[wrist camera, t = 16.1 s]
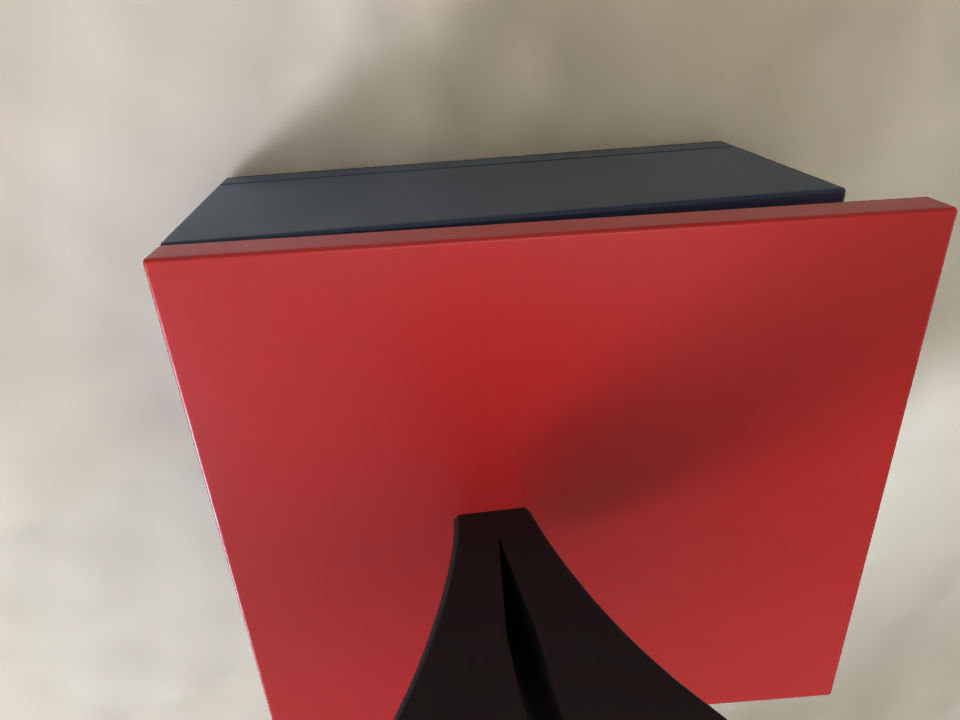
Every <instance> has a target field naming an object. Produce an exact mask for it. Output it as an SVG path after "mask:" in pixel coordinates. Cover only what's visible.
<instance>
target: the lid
mask: <svg viewBox="0 0 960 720" xmlns="http://www.w3.org/2000/svg"><path fill="white" fill-rule="evenodd" d="M956 213H957V209H956V207H953V206H950V205H948V204H945V203H943V202H940V201H937V200H935V199H932V198H929V197H916V198H901V199H885V200H869V201H853V202H838V203H822V204H806V205H791V206H775V207H759V208H744V209H728V210H712V211H696V212H681V213H665V214H649V215H634V216H618V217H602V218H587V219H571V220H555V221H539V222H524V223H508V224H492V225H477V226H461V227H445V228H430V229H414V230H398V231H382V232H367V233H351V234H335V235H320V236H304V237H288V238H273V239H257V240H241V241H225V242H210V243H194V244H178V245H163V246H160V247H158V248H157V249H156V250H155V251H153V252H152V253H151V254H150V255H149V256H147V257H146V258H145V259H144V261H143V264H144V268H145V272H146V275H147V279H148V282H149V286H150V289H151V293H152V296H153V300H154V303H155V307H156V310H157V314H158V318H159V321H160V325H161V328H162V332H163V335H164V339H165V342H166V346H167V349H168V353H169V356H170V360H171V364H172V367H173V371H174V374H175V378H176V381H177V385H178V388H179V392H180V395H181V399H182V402H183V406H184V410H185V413H186V417H187V420H188V424H189V427H190V431H191V434H192V438H193V441H194V445H195V448H196V452H197V456H198V459H199V463H200V466H201V470H202V473H203V477H204V480H205V484H206V487H207V491H208V494H209V498H210V502H211V505H212V509H213V512H214V516H215V519H216V523H217V526H218V530H219V533H220V537H221V540H222V544H223V548H224V551H225V555H226V558H227V562H228V565H229V569H230V572H231V576H232V579H233V583H234V586H235V590H236V594H237V597H238V601H239V604H240V608H241V611H242V615H243V618H244V622H245V625H246V629H247V632H248V636H249V639H250V643H251V647H252V650H253V654H254V657H255V661H256V664H257V668H258V671H259V675H260V678H261V682H262V685H263V689H264V693H265V696H266V700H267V703H268V707H269V710H270V714H271V717H272V720H393V719H394V717H395V715H396V713H397V711H398V709H399V706H400V704H401V702H402V700H403V698H404V696H405V694H406V692H407V690H408V688H409V685H410V683H411V681H412V678H413V676H414V674H415V671H416V669H417V667H418V664H419V662H420V659H421V657H422V654H423V652H424V649H425V646H426V644H427V641H428V638H429V635H430V632H431V629H432V626H433V623H434V620H435V617H436V614H437V611H438V608H439V604H440V601H441V597H442V593H443V589H444V585H445V581H446V577H447V573H448V569H449V564H450V558H451V553H452V546H453V534H454V526H453V520H454V519H455V518H456V517H457V516H458V515H461V514H470V513H479V512H487V511H496V510H504V509H513V508H522V507H525V508H526V509H528V510H529V511H530V512H531V514H532V516H533V517H534V519H535V521H536V522H537V524H538V526H539V527H540V529H541V531H542V532H543V534H544V535H545V537H546V538H547V540H548V541H549V543H550V544H551V545H552V547H553V548H554V550H555V551H556V552H557V554H558V555H559V557H560V558H561V559H562V561H563V562H564V563H565V565H566V566H567V567H568V568H569V570H570V571H571V572H572V573H573V575H574V576H575V577H576V578H577V580H578V581H579V582H580V583H581V585H582V586H583V587H584V588H585V590H586V591H587V592H588V593H589V594H590V595H591V597H592V598H593V599H594V600H595V601H596V602H597V604H598V605H599V606H600V607H601V608H602V609H603V610H604V611H605V612H606V613H607V614H608V616H609V617H610V618H611V619H612V620H613V621H614V622H615V623H616V624H617V625H618V626H619V627H620V628H621V629H622V630H623V631H624V632H625V633H626V634H627V635H628V636H629V637H630V638H631V639H632V640H633V641H634V642H635V643H636V644H637V645H638V646H639V647H640V648H641V649H642V650H643V651H644V652H645V653H646V654H647V655H648V656H650V657H651V658H652V659H653V660H654V661H655V662H656V663H657V664H658V665H660V666H661V667H662V668H663V669H664V670H665V671H666V672H668V673H669V674H670V675H671V676H672V677H673V678H674V679H676V680H677V681H678V682H679V683H680V684H682V685H683V686H684V687H686V688H687V689H688V690H689V691H691V692H692V693H693V694H695V695H696V696H697V697H699V698H700V699H701V700H702V701H704V702H705V703H706V704H718V703H731V702H743V701H756V700H769V699H781V698H794V697H807V696H819V695H829V694H830V693H831V690H832V686H833V682H834V678H835V675H836V671H837V667H838V663H839V659H840V655H841V652H842V648H843V644H844V640H845V636H846V633H847V629H848V625H849V621H850V617H851V614H852V610H853V606H854V602H855V598H856V595H857V591H858V587H859V583H860V579H861V575H862V572H863V568H864V564H865V560H866V556H867V553H868V549H869V545H870V541H871V537H872V534H873V530H874V526H875V522H876V518H877V514H878V511H879V507H880V503H881V499H882V495H883V492H884V488H885V484H886V480H887V476H888V473H889V469H890V465H891V461H892V457H893V454H894V450H895V446H896V442H897V438H898V434H899V431H900V427H901V423H902V419H903V415H904V412H905V408H906V404H907V400H908V396H909V393H910V389H911V385H912V381H913V377H914V374H915V370H916V366H917V362H918V358H919V354H920V351H921V347H922V343H923V339H924V335H925V332H926V328H927V324H928V320H929V316H930V313H931V309H932V305H933V301H934V297H935V293H936V290H937V286H938V282H939V278H940V274H941V271H942V267H943V263H944V259H945V255H946V252H947V248H948V244H949V240H950V236H951V233H952V229H953V225H954V221H955V217H956Z"/></svg>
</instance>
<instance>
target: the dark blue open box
mask: <svg viewBox="0 0 960 720" xmlns="http://www.w3.org/2000/svg"><path fill="white" fill-rule="evenodd" d="M844 197H845V188H843V187H840V186H837V185H835V184H832V183H829V182H827V181H824V180H822V179H819V178H816V177H814V176H811V175H808V174H806V173H803V172H801V171H798V170H795V169H793V168H790V167H788V166H785V165H782V164H780V163H777V162H774V161H772V160H769V159H767V158H764V157H761V156H759V155H756V154H753V153H751V152H748V151H746V150H743V149H740V148H738V147H735V146H732V145H730V144H727V143H725V142H722V141H718V142H705V143H691V144H678V145H664V146H651V147H637V148H624V149H610V150H597V151H583V152H570V153H556V154H543V155H529V156H516V157H502V158H489V159H475V160H462V161H448V162H435V163H421V164H408V165H394V166H381V167H367V168H354V169H340V170H327V171H313V172H300V173H286V174H273V175H259V176H246V177H232V178H227V179H226V180H225V181H224V182H222V183H221V184H220V186H218V187H217V188H216V189H215V190H214V191H213V192H212V193H211V194H210V195H209V196H208V197H207V198H206V199H205V200H204V201H203V202H202V203H201V204H200V205H199V206H198V207H197V208H196V209H195V210H194V211H193V212H192V213H191V214H190V215H189V216H188V217H187V218H186V219H185V220H184V221H183V222H182V223H181V224H180V225H179V226H178V227H177V228H176V229H175V230H174V231H173V232H172V233H171V234H170V235H169V236H168V237H167V238H166V239H165V240H164V241H163V242H162V243H161V246H163V245H178V244H194V243H210V242H225V241H241V240H257V239H273V238H288V237H304V236H320V235H335V234H351V233H367V232H382V231H398V230H414V229H430V228H445V227H461V226H477V225H492V224H508V223H524V222H539V221H555V220H571V219H587V218H602V217H618V216H634V215H649V214H665V213H681V212H696V211H712V210H728V209H744V208H759V207H775V206H791V205H806V204H822V203H838V202H844Z"/></svg>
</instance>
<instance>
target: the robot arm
mask: <svg viewBox="0 0 960 720" xmlns="http://www.w3.org/2000/svg"><path fill="white" fill-rule="evenodd" d="M453 526H454V534H453V546H452V553H451V558H450V564H449V569H448V573H447V577H446V581H445V585H444V589H443V593H442V597H441V601H440V604H439V608H438V611H437V614H436V617H435V620H434V623H433V626H432V629H431V632H430V635H429V638H428V641H427V644H426V646H425V649H424V652H423V654H422V657H421V659H420V662H419V664H418V667H417V669H416V671H415V674H414V676H413V678H412V681H411V683H410V685H409V688H408V690H407V692H406V694H405V696H404V698H403V700H402V702H401V704H400V706H399V709H398V711H397V713H396V715H395V717H394V719H393V720H727V719H726V718H724V717H723V716H722V715H720V714H719V713H718V712H717V711H715V710H714V709H713V708H711V707H710V706H709V705H708V704H706V703H705V702H704V701H702V700H701V699H700V698H699V697H697V696H696V695H695V694H693V693H692V692H691V691H689V690H688V689H687V688H686V687H684V686H683V685H682V684H680V683H679V682H678V681H677V680H676V679H674V678H673V677H672V676H671V675H670V674H669V673H668V672H666V671H665V670H664V669H663V668H662V667H661V666H660V665H658V664H657V663H656V662H655V661H654V660H653V659H652V658H651V657H650V656H648V655H647V654H646V653H645V652H644V651H643V650H642V649H641V648H640V647H639V646H638V645H637V644H636V643H635V642H634V641H633V640H632V639H631V638H630V637H629V636H628V635H627V634H626V633H625V632H624V631H623V630H622V629H621V628H620V627H619V626H618V625H617V624H616V623H615V622H614V621H613V620H612V619H611V618H610V617H609V616H608V614H607V613H606V612H605V611H604V610H603V609H602V608H601V607H600V606H599V605H598V604H597V602H596V601H595V600H594V599H593V598H592V597H591V595H590V594H589V593H588V592H587V591H586V590H585V588H584V587H583V586H582V585H581V583H580V582H579V581H578V580H577V578H576V577H575V576H574V575H573V573H572V572H571V571H570V570H569V568H568V567H567V566H566V565H565V563H564V562H563V561H562V559H561V558H560V557H559V555H558V554H557V552H556V551H555V550H554V548H553V547H552V545H551V544H550V543H549V541H548V540H547V538H546V537H545V535H544V534H543V532H542V531H541V529H540V527H539V526H538V524H537V522H536V521H535V519H534V517H533V516H532V514H531V512H530V511H529V510H528V509H526V508H525V507H522V508H513V509H504V510H496V511H487V512H479V513H470V514H461V515H458V516H457V517H456V518H455V519H454V520H453Z"/></svg>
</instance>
